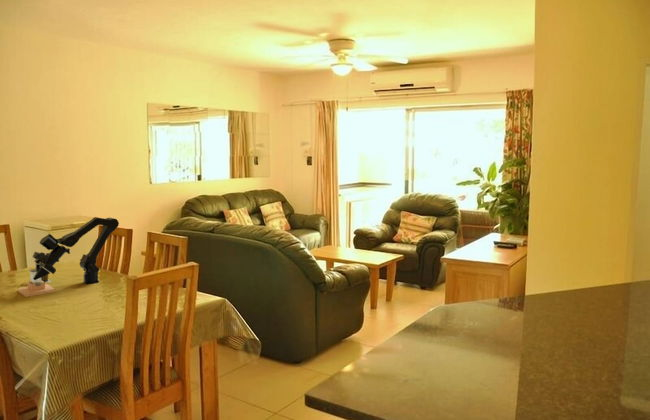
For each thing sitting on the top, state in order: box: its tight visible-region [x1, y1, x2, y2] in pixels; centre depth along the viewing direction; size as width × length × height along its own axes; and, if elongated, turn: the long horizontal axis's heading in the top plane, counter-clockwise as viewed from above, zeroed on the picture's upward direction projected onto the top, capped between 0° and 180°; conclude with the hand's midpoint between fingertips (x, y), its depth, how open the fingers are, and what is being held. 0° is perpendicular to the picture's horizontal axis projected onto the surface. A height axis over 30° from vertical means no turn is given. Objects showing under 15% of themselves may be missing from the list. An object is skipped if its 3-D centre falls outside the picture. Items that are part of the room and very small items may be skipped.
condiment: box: [35, 262, 52, 284], centre depth 282 cm, size 7×8×12 cm
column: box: [29, 268, 42, 284], centre depth 263 cm, size 5×4×10 cm
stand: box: [17, 280, 56, 298], centre depth 263 cm, size 14×14×5 cm
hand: (32, 278), depth 262 cm, fingers closed on column, 4 cm apart
